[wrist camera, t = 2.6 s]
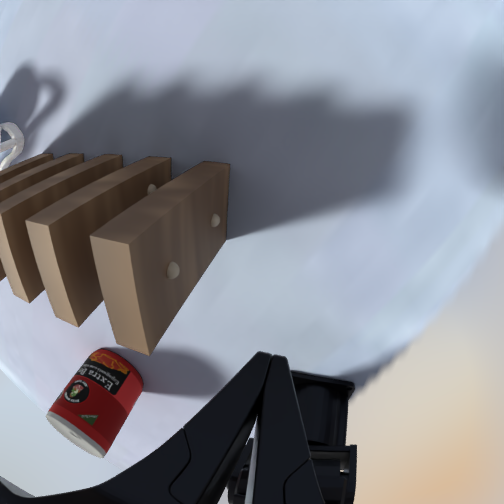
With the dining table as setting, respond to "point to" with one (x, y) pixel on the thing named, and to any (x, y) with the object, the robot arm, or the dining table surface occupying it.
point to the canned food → (96, 402)
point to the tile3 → (31, 202)
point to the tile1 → (160, 253)
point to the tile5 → (24, 166)
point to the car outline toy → (11, 143)
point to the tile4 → (36, 180)
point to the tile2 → (86, 234)
